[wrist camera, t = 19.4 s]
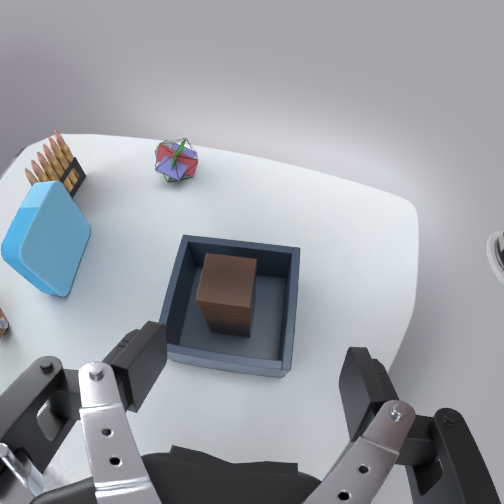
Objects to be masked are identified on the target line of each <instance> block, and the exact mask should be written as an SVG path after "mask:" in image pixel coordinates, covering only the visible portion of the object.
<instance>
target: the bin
mask: <svg viewBox="0 0 504 504" xmlns="http://www.w3.org/2000/svg"><path fill="white" fill-rule="evenodd" d="M207 253H210V254H218V255H227V256H235V257H243V258H252V259H257V273H256V301H255V308H254V316H253V323H252V330H251V337H242V336H235V335H228V334H222V333H215V332H211V330H210V328H209V326H208V324H207V322H206V320H205V318H204V316H203V314H202V312H201V310H200V308H199V306H198V304H197V301H196V296H197V291H198V287H199V283H200V278H201V274H202V270H203V266H204V262H205V257H206V254H207ZM299 263H300V248H297V247H288V246H280V245H271V244H262V243H254V242H245V241H236V240H227V239H218V238H209V237H200V236H190V235H183V236H182V240H181V243H180V246H179V250H178V253H177V256H176V260H175V263H174V267H173V270H172V274H171V278H170V281H169V285H168V289H167V292H166V296H165V300H164V304H163V308H162V311H161V315H160V319H159V323H162V324H165V326H166V336H167V352H168V355H167V358H168V359H170V360H171V361H175V362H180V363H185V364H190V365H195V366H201V367H206V368H212V369H218V370H224V371H231V372H238V373H245V374H252V375H261V376H269V377H279V378H283V377H284V376H285V375H286V374H287V373H288V372H289V371H290V370H291V362H292V352H293V342H294V331H295V319H296V307H297V294H298V279H299Z"/></svg>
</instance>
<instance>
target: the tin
mask: <svg viewBox="0 0 504 504" xmlns="http://www.w3.org/2000/svg"><path fill="white" fill-rule="evenodd" d="M7 328H8V321H7V319H6V318H5V316H4V314H3V313H2V311H1V309H0V338H1V337H2V336H3V334H4V332H5V330H6V329H7Z"/></svg>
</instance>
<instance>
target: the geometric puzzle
mask: <svg viewBox="0 0 504 504" xmlns="http://www.w3.org/2000/svg"><path fill="white" fill-rule="evenodd" d="M185 140H186V138H185ZM185 140H184V141H183V142H182V144H181V145H179V144H176V142H170V141H167V140H165V141H163V142H161V143H159V145H158V147H157V148H156V150H155V155H156V161H158V162H160V163H159V164H158V166H157V167H156V165H155V167H156V169H154V170H155V171H156V172H157V171H158V172H160V173H163V174H165V175H167V176H169V179H168V181H167V183H168V182H169V180H170V179H171V177H172V178H174V179H176V181H177V180H178V181H180V180H182V179H181V178H182V177H183V176H184V175H185V174H187V175H189V176H191V177H190V178H192V177H193V176H194V173H195V169H196V166H197V163H198V161H199V160H198V159H197V160H196V159H194V156H196V155H197V154H196V153H197V152H195V151H192V150H190V149H188V148H186V147H184V144H185ZM172 144H173V146H172V147H171V148H169V146H171V145H172ZM189 145H190V144H189ZM190 147H191V146H190ZM194 150H195V149H194ZM197 157H198V156H197ZM197 157H196V158H197ZM158 162H156V163H158ZM158 172H157V173H158ZM183 173H185V174H184V175H183ZM182 175H183V176H182ZM165 178H166V177H165ZM185 179H188V178H185ZM166 180H167V179H166ZM183 180H184V179H183ZM171 182H174V181H171Z"/></svg>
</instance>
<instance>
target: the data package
mask: <svg viewBox="0 0 504 504" xmlns="http://www.w3.org/2000/svg"><path fill="white" fill-rule="evenodd" d="M89 236H90V226H89V223H88V222H87V220H86V219H85V217H84V216H83V214H82V213H81V211H80V210H79V208H78V207H77V205H76V204H75V202H74V201H73V199H72V198H71V196H70V195H69V193H68V192H67V190H66V188H65V187H64V185H63V184H62V183H61V182H60V181H48V182H37V183H35V184H34V185H33V186H32V187H31V189H30V191H29V192H28V194H27V196H26V197H25V199H24V201H23V203H22V205H21V206H20V208H19V210H18V212H17V214H16V216H15V218H14V220H13V222H12V224H11V226H10V228H9V230H8V232H7V234H6V236H5V238H4V240H3V243H2V246H1V254H2V257H3V259H4V261H5V262H7V263H8V264H9V265H10V266H11V267H12V268H13V269H15V270H16V271H17V272H18V273H19V274H20V275H22V276H23V277H24V278H25V279H27V280H28V281H29V282H30V283H31V284H33V285H34V286H35V287H37V288H38V289H39V290H40V291H42V292H45V293H49V294H53V295H58V296H66V295H67V294H68V293H69V292H70V289H71V286H72V283H73V280H74V277H75V274H76V271H77V268H78V265H79V263H80V260H81V257H82V254H83V252H84V249H85V247H86V244H87V241H88V239H89Z"/></svg>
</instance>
